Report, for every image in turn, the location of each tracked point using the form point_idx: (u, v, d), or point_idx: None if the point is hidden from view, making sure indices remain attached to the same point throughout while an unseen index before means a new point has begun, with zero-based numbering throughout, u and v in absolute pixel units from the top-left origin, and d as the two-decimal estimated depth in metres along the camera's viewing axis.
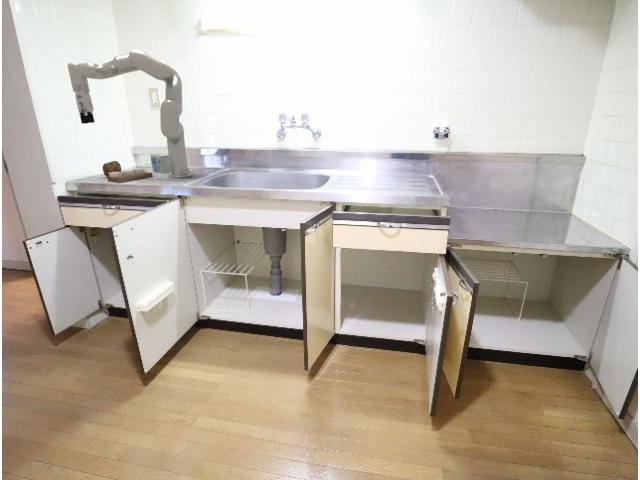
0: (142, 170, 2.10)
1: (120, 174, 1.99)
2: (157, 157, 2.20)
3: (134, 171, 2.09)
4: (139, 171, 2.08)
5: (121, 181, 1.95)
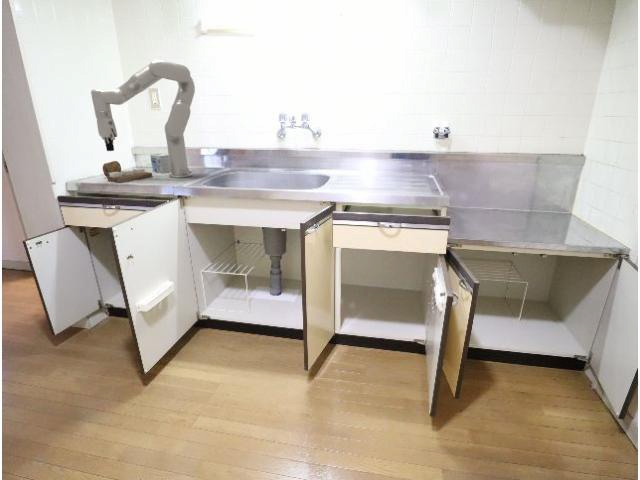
0: (142, 170, 2.10)
1: (120, 174, 1.99)
2: (157, 157, 2.20)
3: (134, 171, 2.09)
4: (139, 171, 2.08)
5: (121, 181, 1.95)
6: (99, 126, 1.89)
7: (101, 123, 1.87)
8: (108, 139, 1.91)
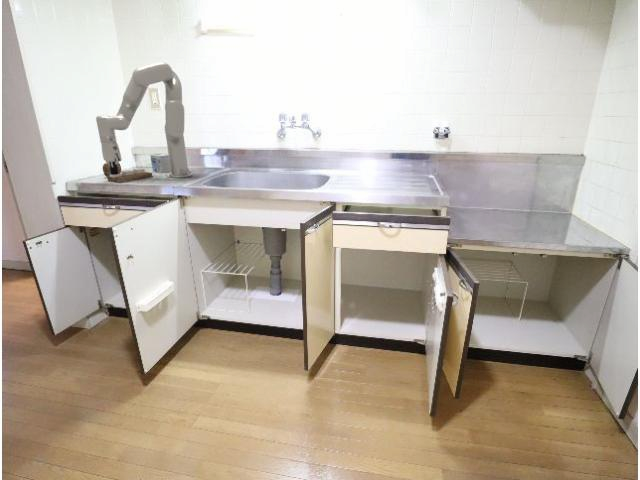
0: (142, 170, 2.10)
1: None
2: (157, 157, 2.20)
3: (134, 171, 2.09)
4: (139, 171, 2.08)
5: (121, 181, 1.95)
6: (104, 151, 1.93)
7: (106, 148, 1.91)
8: (112, 163, 1.95)
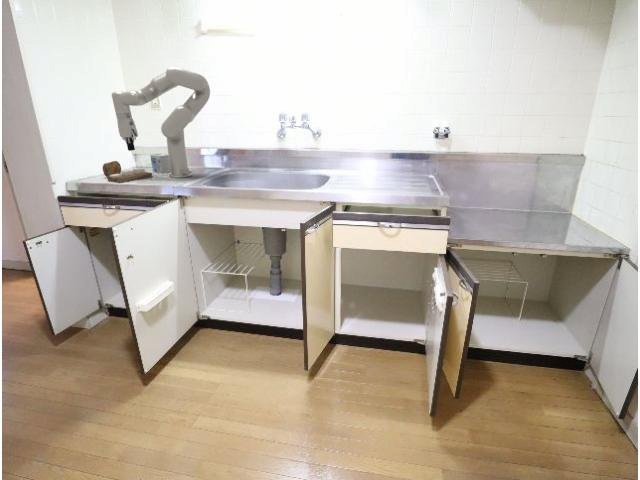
0: (142, 170, 2.10)
1: None
2: (157, 157, 2.20)
3: (134, 171, 2.09)
4: (139, 171, 2.08)
5: (121, 181, 1.95)
6: (120, 127, 1.98)
7: (122, 124, 1.96)
8: (129, 139, 2.00)
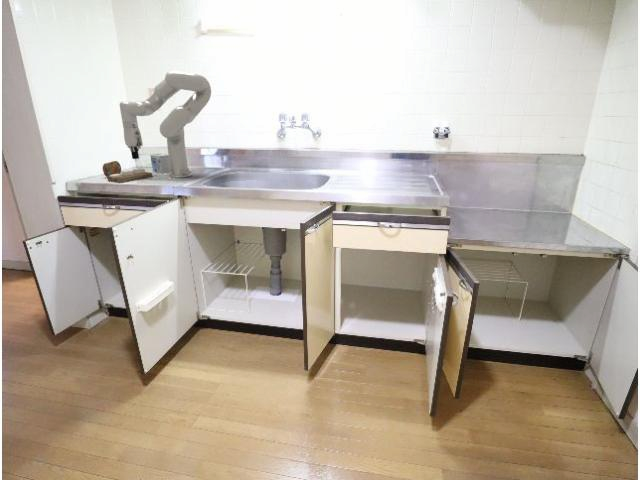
0: (142, 170, 2.10)
1: None
2: (157, 157, 2.20)
3: (134, 171, 2.09)
4: (139, 171, 2.08)
5: (121, 181, 1.95)
6: (126, 136, 2.02)
7: (128, 133, 2.00)
8: (134, 148, 2.04)
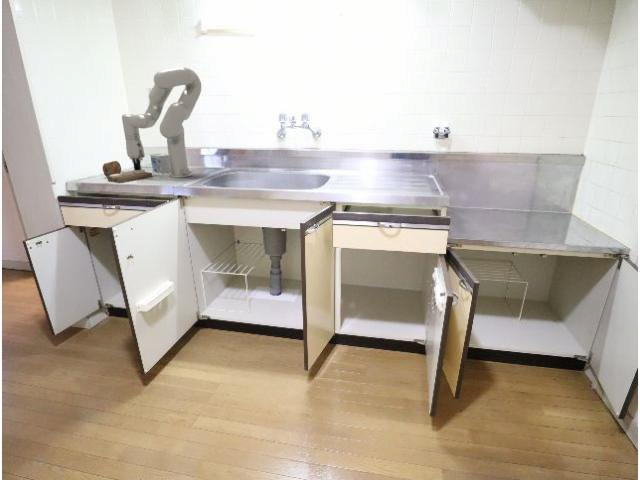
0: (142, 171, 2.10)
1: None
2: (157, 157, 2.20)
3: (134, 172, 2.09)
4: (139, 172, 2.08)
5: (121, 181, 1.95)
6: (128, 147, 2.04)
7: (130, 145, 2.03)
8: (136, 159, 2.06)
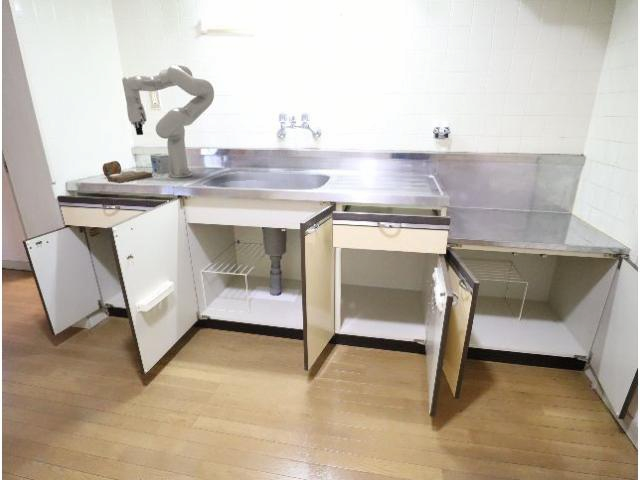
0: (142, 172, 2.10)
1: None
2: (157, 157, 2.20)
3: None
4: None
5: (121, 181, 1.95)
6: (129, 111, 2.03)
7: (132, 108, 2.02)
8: (138, 123, 2.05)
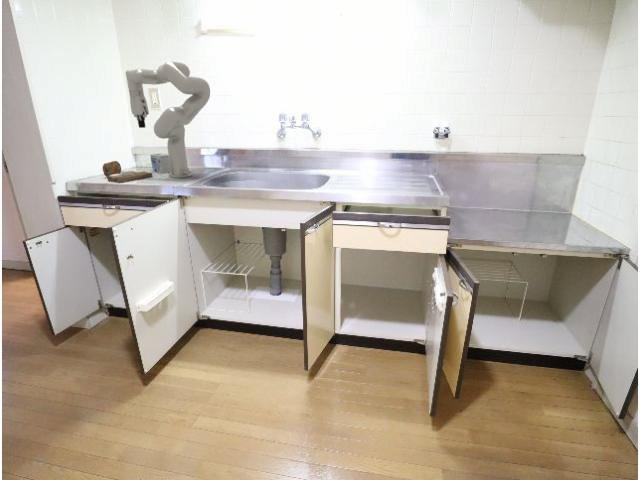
0: (142, 172, 2.10)
1: None
2: (157, 157, 2.20)
3: None
4: None
5: (121, 181, 1.95)
6: (132, 104, 2.06)
7: (134, 101, 2.04)
8: (140, 116, 2.07)
